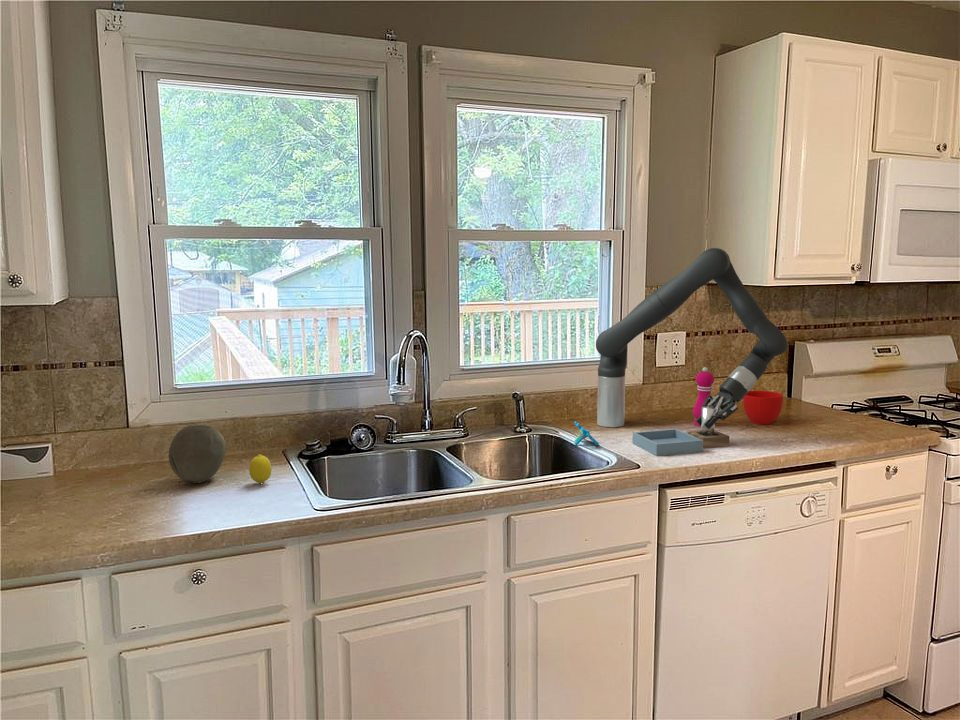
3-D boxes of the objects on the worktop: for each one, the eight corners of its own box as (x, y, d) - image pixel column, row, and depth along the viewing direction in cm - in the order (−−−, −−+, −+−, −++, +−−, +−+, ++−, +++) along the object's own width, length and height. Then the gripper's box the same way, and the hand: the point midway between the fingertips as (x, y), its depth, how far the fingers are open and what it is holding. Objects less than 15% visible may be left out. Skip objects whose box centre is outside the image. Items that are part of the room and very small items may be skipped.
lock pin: (698, 436, 220) (699, 406, 219) (709, 435, 222) (710, 406, 220) (705, 439, 217) (706, 409, 215) (716, 439, 218) (718, 408, 216)
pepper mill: (691, 426, 241) (693, 368, 239) (693, 421, 248) (695, 365, 245) (713, 427, 239) (715, 369, 236) (715, 423, 245) (717, 366, 243)
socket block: (686, 440, 222) (687, 431, 222) (712, 438, 225) (712, 429, 224) (703, 448, 214) (703, 438, 213) (729, 445, 216) (729, 436, 216)
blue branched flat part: (602, 444, 214) (578, 421, 214) (589, 458, 214) (565, 435, 214) (597, 439, 225) (574, 417, 225) (584, 453, 225) (561, 431, 225)
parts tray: (632, 443, 220) (632, 432, 220) (675, 439, 224) (676, 428, 224) (656, 456, 206) (656, 444, 205) (702, 451, 210) (702, 440, 209)
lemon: (252, 481, 188) (251, 452, 187) (274, 480, 188) (272, 451, 187) (247, 487, 182) (246, 457, 181) (269, 487, 183) (268, 457, 182)
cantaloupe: (223, 486, 183) (220, 430, 181) (165, 491, 181) (161, 434, 178) (231, 471, 197) (227, 418, 195) (176, 475, 194) (172, 421, 192)
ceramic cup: (784, 418, 251) (786, 390, 250) (779, 428, 237) (781, 399, 235) (746, 414, 258) (747, 387, 256) (739, 424, 243) (740, 395, 241)
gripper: (717, 372, 225) (682, 412, 224) (745, 380, 211) (708, 422, 210) (731, 388, 227) (696, 427, 226) (759, 396, 214) (723, 438, 212)
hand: (702, 424), depth 218 cm, fingers closed on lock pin, 4 cm apart
